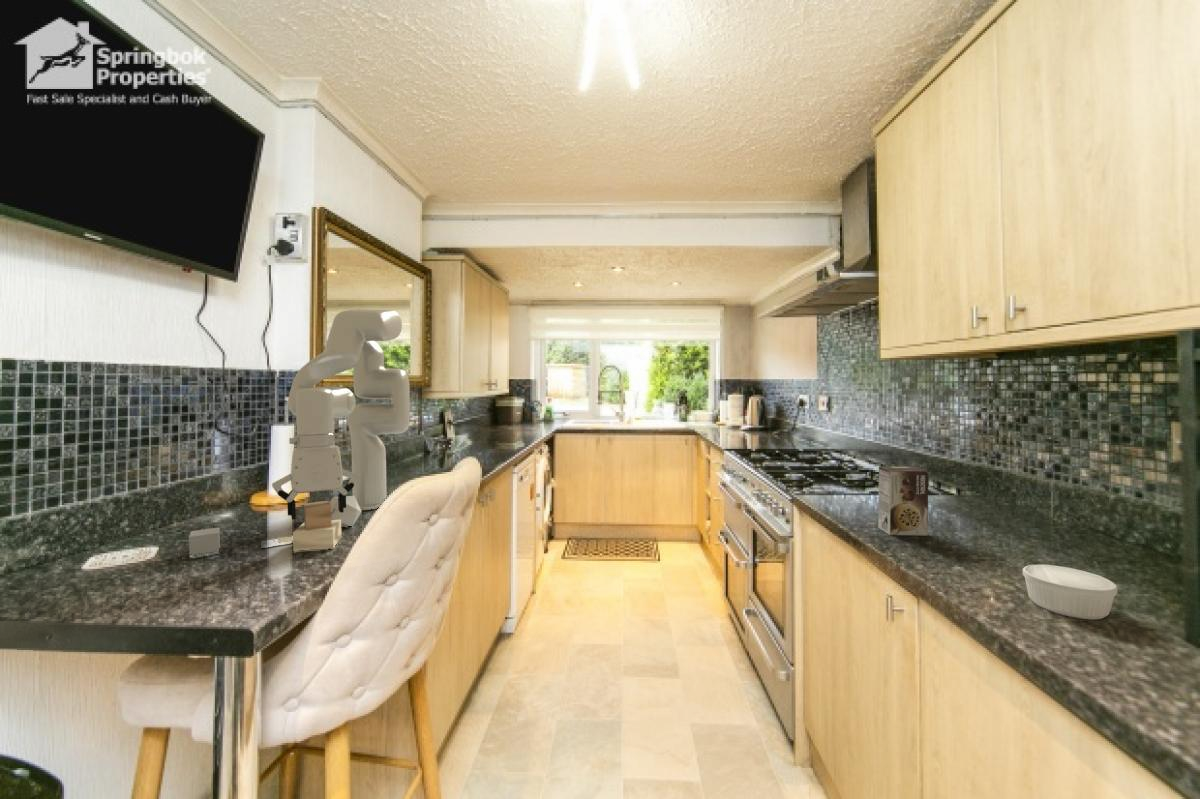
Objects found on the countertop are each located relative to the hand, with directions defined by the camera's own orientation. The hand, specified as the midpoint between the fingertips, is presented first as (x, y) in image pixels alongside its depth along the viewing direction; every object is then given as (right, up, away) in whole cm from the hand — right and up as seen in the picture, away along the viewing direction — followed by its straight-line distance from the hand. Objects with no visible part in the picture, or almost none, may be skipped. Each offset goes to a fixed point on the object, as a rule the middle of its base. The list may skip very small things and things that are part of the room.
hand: (317, 514), depth 112 cm
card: (-10, -7, +3) cm, 13 cm away
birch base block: (0, -8, 0) cm, 8 cm away
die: (-3, -7, +16) cm, 17 cm away
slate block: (-22, -8, -5) cm, 24 cm away
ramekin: (+144, -8, -31) cm, 148 cm away
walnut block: (0, -3, 0) cm, 3 cm away
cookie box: (+142, -7, +9) cm, 142 cm away
